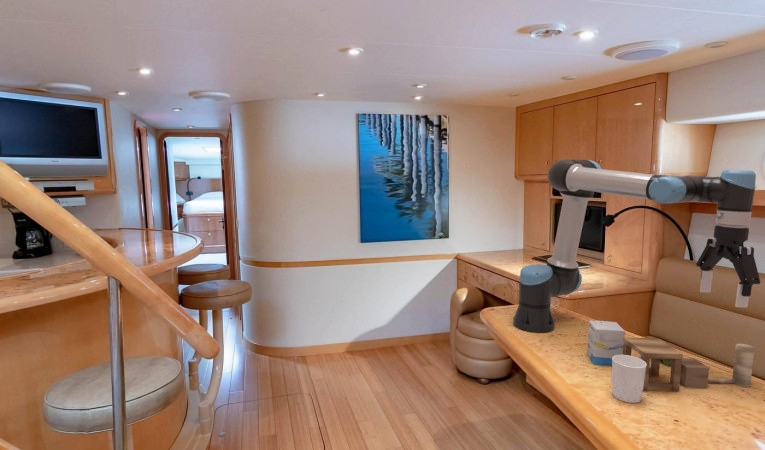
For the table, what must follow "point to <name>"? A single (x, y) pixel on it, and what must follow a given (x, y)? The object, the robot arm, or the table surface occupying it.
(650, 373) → the wooden open stand
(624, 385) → the white cup
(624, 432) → the table surface
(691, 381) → the block
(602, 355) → the ink box
